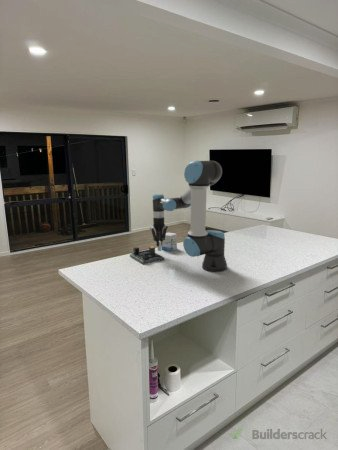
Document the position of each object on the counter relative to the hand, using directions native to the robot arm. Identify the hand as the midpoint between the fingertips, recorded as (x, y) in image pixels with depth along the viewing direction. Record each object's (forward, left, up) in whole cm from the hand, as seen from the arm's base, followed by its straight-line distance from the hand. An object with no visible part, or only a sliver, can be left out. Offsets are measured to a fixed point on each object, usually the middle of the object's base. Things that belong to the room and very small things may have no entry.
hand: (159, 250), depth 219 cm
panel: (0, +10, -4) cm, 11 cm away
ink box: (+10, -14, -4) cm, 18 cm away
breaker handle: (0, +6, -2) cm, 6 cm away
